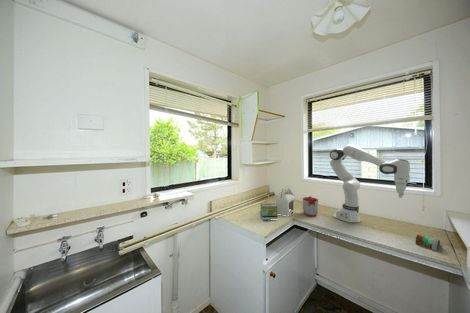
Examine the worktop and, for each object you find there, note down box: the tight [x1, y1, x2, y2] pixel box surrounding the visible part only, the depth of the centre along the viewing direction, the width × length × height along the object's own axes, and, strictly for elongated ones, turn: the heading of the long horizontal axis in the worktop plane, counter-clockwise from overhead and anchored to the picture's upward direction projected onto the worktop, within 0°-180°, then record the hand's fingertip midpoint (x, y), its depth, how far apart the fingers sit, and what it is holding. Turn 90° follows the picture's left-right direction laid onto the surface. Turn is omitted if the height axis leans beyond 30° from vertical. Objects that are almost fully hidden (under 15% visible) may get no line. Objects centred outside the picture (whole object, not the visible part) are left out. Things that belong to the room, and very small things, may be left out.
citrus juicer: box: [301, 195, 319, 217], centre depth 180 cm, size 16×17×20 cm
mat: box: [419, 242, 443, 253], centre depth 120 cm, size 10×16×1 cm, turn 131°
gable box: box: [275, 186, 296, 217], centre depth 188 cm, size 22×13×28 cm, turn 143°
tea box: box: [260, 202, 278, 221], centre depth 172 cm, size 15×10×15 cm
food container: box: [415, 234, 441, 252], centre depth 120 cm, size 12×6×10 cm
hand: (401, 196), depth 136 cm, fingers open, 8 cm apart
